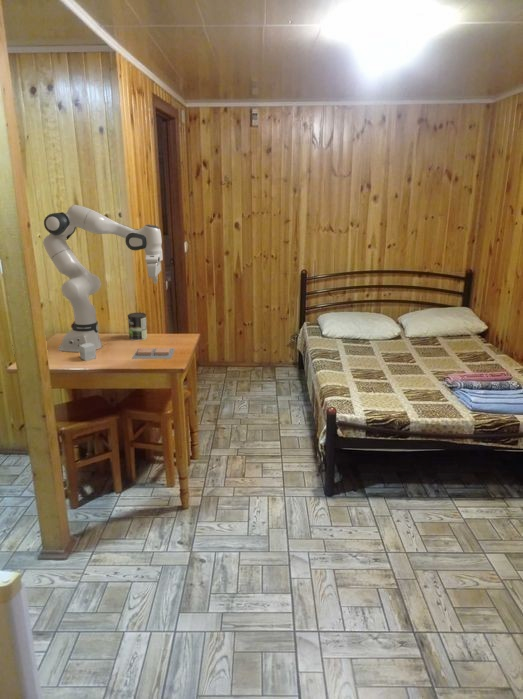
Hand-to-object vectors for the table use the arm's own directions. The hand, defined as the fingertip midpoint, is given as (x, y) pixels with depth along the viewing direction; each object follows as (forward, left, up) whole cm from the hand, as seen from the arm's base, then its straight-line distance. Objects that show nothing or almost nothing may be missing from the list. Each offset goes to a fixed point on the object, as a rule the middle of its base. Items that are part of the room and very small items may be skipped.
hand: (155, 283), depth 261 cm
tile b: (+4, -10, -34) cm, 35 cm away
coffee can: (-14, +14, -35) cm, 41 cm away
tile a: (-5, -10, -34) cm, 36 cm away
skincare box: (-33, -20, -35) cm, 52 cm away
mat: (-1, -14, -35) cm, 38 cm away
